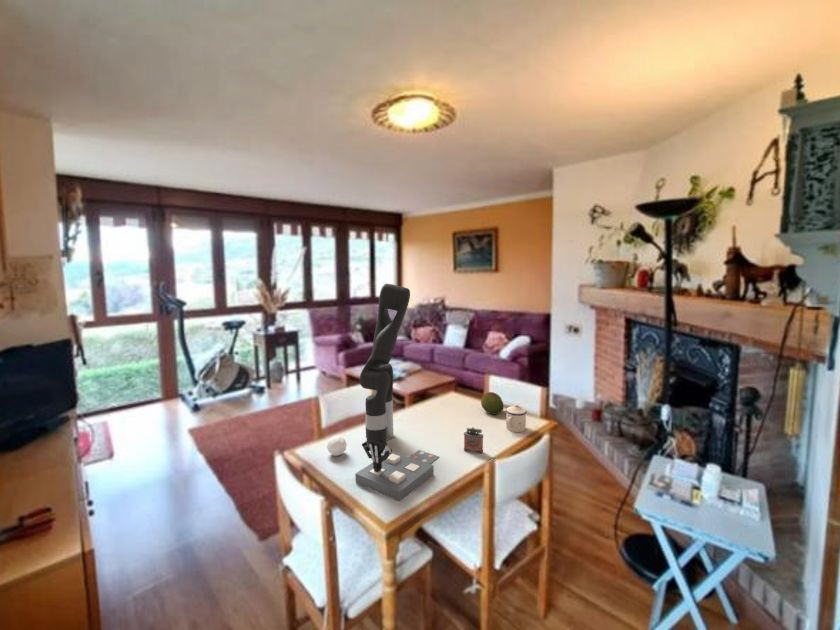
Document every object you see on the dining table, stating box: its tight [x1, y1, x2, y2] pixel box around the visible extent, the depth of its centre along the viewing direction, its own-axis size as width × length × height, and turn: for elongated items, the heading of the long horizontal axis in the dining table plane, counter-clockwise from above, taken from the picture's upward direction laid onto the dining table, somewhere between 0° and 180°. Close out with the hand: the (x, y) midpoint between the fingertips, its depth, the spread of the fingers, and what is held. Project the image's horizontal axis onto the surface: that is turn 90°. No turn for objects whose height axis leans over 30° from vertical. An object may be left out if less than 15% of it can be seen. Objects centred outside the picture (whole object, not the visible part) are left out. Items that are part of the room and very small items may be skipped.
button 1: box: [386, 454, 401, 465], centre depth 151 cm, size 4×4×3 cm
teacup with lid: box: [505, 403, 527, 433], centre depth 184 cm, size 12×9×12 cm
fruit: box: [480, 391, 504, 415], centre depth 205 cm, size 12×13×10 cm
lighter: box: [463, 426, 484, 455], centre depth 164 cm, size 8×3×10 cm, turn 69°
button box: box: [354, 451, 434, 502], centre depth 145 cm, size 20×20×4 cm
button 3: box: [369, 469, 385, 476], centre depth 144 cm, size 4×4×3 cm
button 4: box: [389, 471, 405, 484], centre depth 139 cm, size 4×4×3 cm
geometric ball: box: [326, 435, 348, 457], centre depth 163 cm, size 8×8×8 cm
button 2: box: [405, 463, 420, 472], centre depth 146 cm, size 4×4×3 cm
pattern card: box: [408, 449, 440, 465], centre depth 160 cm, size 10×8×1 cm
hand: (377, 470), depth 144 cm, fingers closed
